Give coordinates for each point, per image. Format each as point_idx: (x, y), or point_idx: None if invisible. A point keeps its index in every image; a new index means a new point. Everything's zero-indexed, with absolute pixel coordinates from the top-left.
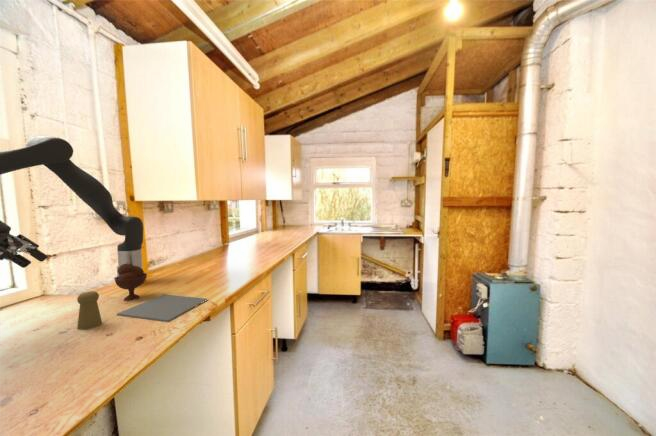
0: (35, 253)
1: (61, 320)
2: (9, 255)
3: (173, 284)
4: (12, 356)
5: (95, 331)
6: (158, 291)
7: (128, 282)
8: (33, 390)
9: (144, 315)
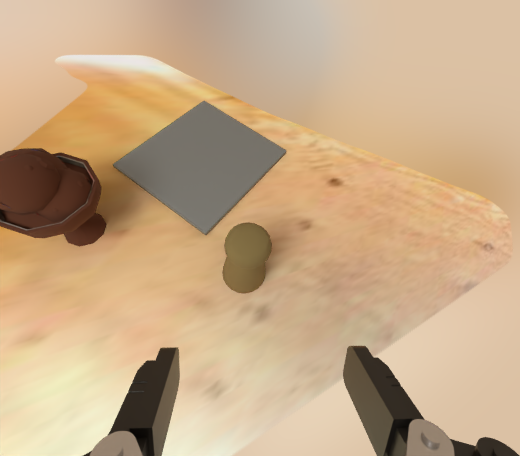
0: (160, 426)
1: None
2: (466, 448)
3: None
4: None
5: (283, 251)
6: None
7: (97, 195)
8: (453, 267)
9: (245, 184)
